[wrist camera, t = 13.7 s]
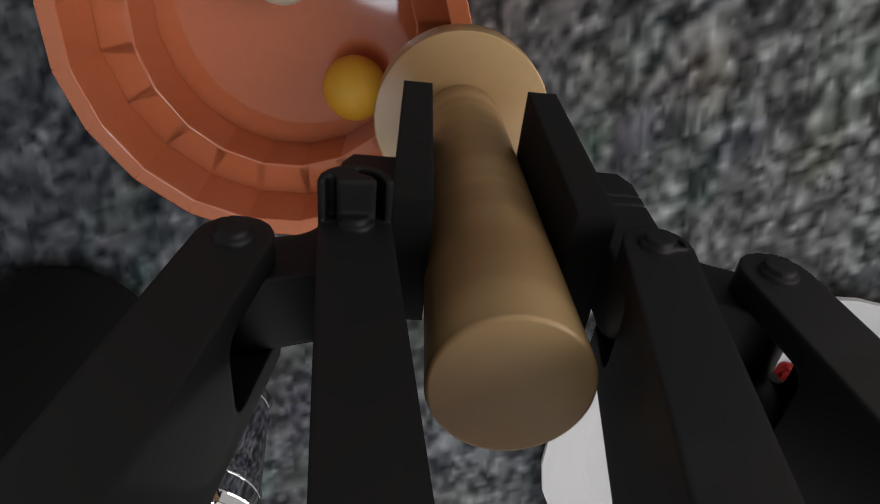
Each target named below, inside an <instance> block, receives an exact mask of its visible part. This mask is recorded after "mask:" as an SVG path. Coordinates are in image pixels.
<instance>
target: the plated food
mask: <svg viewBox="0 0 880 504" xmlns="http://www.w3.org/2000/svg"><path fill="white" fill-rule="evenodd" d="M836 298H837V299H838V300H839V301H840V302H842V303H843V304H844V305H845V306H846V307H847V308H848V309H849V310H850V311H851V312H852V313H853V314H854V315H855V316H857V317H858V318H859V319H860V320H861V321H862V322H863V323H864V324H865V325H866V326H867V327H868V328H869V329H870V330H872V331H873V332H874V333H875V334H876V335H877V336H878V337H879V338H880V303H876V302H872V301H868V300H864V299H860V298H852V297H836ZM792 368H793V364H792V362H791V361H790V360H789V359H788V357H787V356H786V355H785V354H784V353H783V354H782V356H781V358H780V359H779V361H778V363H777V365H776V367H775V369H774V370H773V371H774V373H775V374H776V375H777V376H778V378H779V379H780V380H782V381H783V382H784V381H785V379H786V378H787V377H788V375H789V373H790V371H791V369H792ZM541 481H542V491H543V493H544V496H545V499H546V501H547V504H612V497H611V489H610V482H609V475H608V468H607V460H606V453H605V446H604V439H603V431H602V424H601V417H600V410H599V402H598V395H597V391H596V394H595V397H594V400H593V402H592V404H591V406H590V408H589V410H588V411H587V412H586V414H585V415H584V417H583V418H582V419H581V420H580V421H579V422H578V423H577V424H576V425H575V426H574V427H572V428H571V429H570V430H569V431H567V432H566V433H564V434H563V435H561V436H559V437H558V438H556V439H554V440H552V441H549V442H547V443H546V444H545V448H544V452H543V455H542V459H541Z"/></svg>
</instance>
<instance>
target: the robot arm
mask: <svg viewBox="0 0 880 504" xmlns="http://www.w3.org/2000/svg"><path fill="white" fill-rule="evenodd" d="M517 159H518V161H519V164H520V167H521V169H522V172H523V174H524V177H525V179H526V182H527V184H528V187H529V190H530V192H531V195H532V197H533V200H534V202H535V205H536V207H537V210H538V213H539V215H540V218H541V220H542V223H543V225H544V228H545V230H546V233H547V236H548V238H549V241H550V243H551V246H552V248H553V251H554V253H555V256H556V259H557V261H558V264H559V266H560V269H561V271H562V274H563V276H564V279H565V282H566V284H567V287H568V289H569V292H570V294H571V297H572V299H573V302H574V305H575V307H576V310H577V312H578V315H579V317H580V320H581V322H582V325H583V328H584V330H585V328H586V324H587V321H588V317H589V314H590V311H591V309H592V312H593V315H594V317H595V320H596V326H595V329H594V332H593V336H592V339H591V342H590V345H591V348H592V351H593V353H594V356H595V359H596V362H597V366H598V372H599V375H598V386H597V395H598V402H599V410H600V417H601V424H602V431H603V439H604V446H605V453H606V460H607V468H608V475H609V482H610V489H611V497H612V504H880V338H879V337H878V336H877V335H876V334H875V333H874V332H873V331H872V330H870V329H869V328H868V327H867V326H866V325H865V324H864V323H863V322H862V321H861V320H860V319H859V318H858V317H857V316H855V315H854V314H853V313H852V312H851V311H850V310H849V309H848V308H847V307H846V306H845V305H844V304H843V303H842V302H840V301H839V300H838V299H837V298H836V297H835V296H834V295H833V294H832V293H831V292H830V291H829V290H828V289H827V288H825V287H824V286H823V285H822V284H821V283H820V282H819V281H818V280H817V279H816V278H815V277H814V276H813V275H812V274H810V273H809V272H808V271H806V270H805V269H804V268H802V267H801V266H799V265H797V264H795V263H793V262H791V261H790V260H789V259H787V258H784V257H781V256H780V257H778V255H773V254H761V253H755V254H747V255H745V256H744V257H742V258H741V259H740V261H739V263H738V265H737V268H736V270H735V272H733V271H729V270H725V269H721V268H717V267H713V266H709V265H705V264H702V263H699V261H698V258H697V256H696V254H695V251H694V249H693V248H692V247H691V246H690V244H689V243H688V242H687V241H685V240H684V239H682V238H681V237H680V236H678V235H676V234H673V233H671V232H669V231H666V230H663V229H658V227H657V225H656V224H655V222H654V221H653V219H652V217H651V216H650V214H649V212H648V211H647V209H646V208H644V204H643V202H642V201H641V199H640V198H638V197H639V196H638V194H637V193H636V191H635V189H634V188H633V186H632V185H631V184H630V183H629V182H627V181H626V180H624V179H623V178H622V177H620V176H619V175H618V174H609V173H597V172H596V171H595V169H594V167H593V165H592V163H591V161H590V159H589V157H588V155H587V153H586V151H585V149H584V148H583V146H582V144H581V142H580V140H579V138H578V136H577V134H576V132H575V130H574V128H573V126H572V125H571V123H570V121H569V119H568V117H567V115H566V113H565V111H564V109H563V107H562V105H561V103H560V101H559V100H558V98H557V96H556V94H548V93H537V92H528V95H527V100H526V106H525V111H524V117H523V122H522V128H521V134H520V139H519V145H518V150H517ZM317 197H318V227H317V228H315V229H313V230H311V231H309V232H306V233H303V234H298V235H293V236H285V237H276V238H275V237H274V231H273V229H272V228H271V226H270V225H269V224H267V223H266V222H264V221H263V220H261V219H257V218H253V217H249V216H237V215H233V216H229V217H227V216H225V217H220V218H217V219H215V220H212V221H209V222H207V223H205V224H203V225H202V226H201V227H199V228H198V229H197V230H196V231H195V232H194V233H193V234H192V235H191V237H190V238H189V239H188V240H187V241H186V242H185V244H184V245H183V246H182V247H181V248H180V250H179V251H178V252H177V253H176V254H175V255H174V257H173V258H172V259H171V260H170V261H169V263H168V264H167V265H166V266H165V267H164V268H163V270H162V271H161V272H160V273H159V274H158V275H157V277H156V278H155V279H154V280H153V281H152V283H151V284H150V285H149V286H148V287H147V288H146V290H145V291H144V292H143V293H142V294H141V296H140V297H139V298H138V299H137V300H136V301H135V303H134V304H133V305H132V306H131V307H130V308H129V310H128V311H127V312H126V313H125V314H124V316H123V317H122V318H121V319H120V320H119V321H118V323H117V324H116V325H115V326H114V327H113V329H112V330H111V331H110V332H109V333H108V334H107V336H106V337H105V338H104V339H103V340H102V342H101V343H100V344H99V345H98V346H97V347H96V349H95V350H94V351H93V352H92V353H91V354H90V356H89V357H88V358H87V359H86V360H85V362H84V363H83V364H82V365H81V366H80V367H79V369H78V370H77V371H76V372H75V373H74V375H73V376H72V377H71V378H70V379H69V380H68V382H67V383H66V384H65V385H64V386H63V387H62V389H61V390H60V391H59V392H58V393H57V395H56V396H55V397H54V398H53V399H52V400H51V402H50V403H49V404H48V405H47V406H46V408H45V409H44V410H43V411H42V412H41V413H40V415H39V416H38V417H37V418H36V419H35V420H34V422H33V423H32V424H31V425H30V426H29V428H28V429H27V430H26V431H25V432H24V433H23V435H22V436H21V437H20V438H19V439H18V441H17V442H16V443H15V444H14V445H13V446H12V448H11V449H10V450H9V451H8V452H7V454H6V455H5V456H4V457H3V458H2V459H1V461H0V504H211V502H212V500H213V498H214V496H215V494H216V492H217V489H218V487H219V485H220V483H221V481H222V479H223V476H224V474H225V472H226V470H227V468H228V466H229V464H230V461H231V459H232V457H233V455H234V453H235V451H236V448H237V446H238V444H239V442H240V440H241V438H242V435H243V433H244V431H245V429H246V427H247V425H248V423H249V420H250V418H251V416H252V414H253V412H254V410H255V407H256V405H257V403H258V401H259V399H260V397H261V394H262V392H263V390H264V388H265V386H266V384H267V382H268V379H269V377H270V375H271V373H272V371H273V369H274V366H275V364H276V362H277V360H278V358H279V355H280V349H281V347H284V346H290V345H296V344H302V343H308V342H313V359H312V385H311V411H310V437H309V463H308V489H307V504H434V497H433V491H432V484H431V478H430V471H429V465H428V458H427V452H426V445H425V439H424V432H423V426H422V419H421V413H420V406H419V400H418V393H417V387H416V380H415V374H414V367H413V361H412V354H411V348H410V341H409V335H408V328H407V322H406V319H410V320H422V313H423V303H424V276H425V271H426V268H427V265H428V256H429V246H430V237H431V227H432V218H433V208H434V147H433V83H428V82H417V81H406V80H404V86H403V95H402V104H401V113H400V122H399V131H398V140H397V149H396V157H387V156H375V155H363V154H353V155H351V156H350V157H349V158H347V159H346V160H345V161H343V162H342V164H341V166H337V167H333V168H330V169H328V170H326V171H324V172H323V173H321V174H320V176H319V178H318V180H317ZM783 353H784V354H785V355H786V356H787V357H788V359H789V360H790V361H791V362H792V364H793V368H792V369H791V371H790V373H789V375H788V377H787V378H786V379H785V381H784V382H783V381H782V380H780V379H779V378H778V376H777V375H776V374H775V373H774V371H773V370H774V369H775V367H776V365H777V363H778V361H779V359H780V358H781V356H782V354H783Z"/></svg>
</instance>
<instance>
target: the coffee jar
mask: <svg viewBox="0 0 880 504" xmlns="http://www.w3.org/2000/svg"><path fill="white" fill-rule="evenodd" d="M137 299H138V297H137V296H135V295H134V294H133V293H132V292H130V291H129V290H128V289H127V288H125V287H124V286H123V285H122V284H120V283H118V282H116V281H113V280H111V279H109V278H107V277H105V276H103V275H101V274H99V273H96V272H92V271H88V270H84V269H80V268H76V267H56V266H47V267H43V268H41V267H36V268H33V269H29V270H26V271H22V272H19V273H15V274H12V275H9V276H6V277H5V278H3V279H2V280H1V281H0V461H1V459H2V458H3V457H4V456H5V455H6V454H7V452H8V451H9V450H10V449H11V448H12V446H13V445H14V444H15V443H16V442H17V441H18V439H19V438H20V437H21V436H22V435H23V433H24V432H25V431H26V430H27V429H28V428H29V426H30V425H31V424H32V423H33V422H34V420H35V419H36V418H37V417H38V416H39V415H40V413H41V412H42V411H43V410H44V409H45V408H46V406H47V405H48V404H49V403H50V402H51V400H52V399H53V398H54V397H55V396H56V395H57V393H58V392H59V391H60V390H61V389H62V387H63V386H64V385H65V384H66V383H67V382H68V380H69V379H70V378H71V377H72V376H73V375H74V373H75V372H76V371H77V370H78V369H79V367H80V366H81V365H82V364H83V363H84V362H85V360H86V359H87V358H88V357H89V356H90V354H91V353H92V352H93V351H94V350H95V349H96V347H97V346H98V345H99V344H100V343H101V342H102V340H103V339H104V338H105V337H106V336H107V334H108V333H109V332H110V331H111V330H112V329H113V327H114V326H115V325H116V324H117V323H118V321H119V320H120V319H121V318H122V317H123V316H124V314H125V313H126V312H127V311H128V310H129V308H130V307H131V306H132V305H133V304H134V303H135V301H136V300H137Z"/></svg>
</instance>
